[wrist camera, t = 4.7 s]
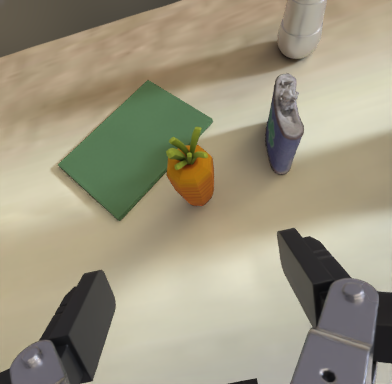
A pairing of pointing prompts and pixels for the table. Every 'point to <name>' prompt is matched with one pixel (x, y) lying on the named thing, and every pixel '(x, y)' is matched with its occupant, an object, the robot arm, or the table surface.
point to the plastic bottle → (301, 27)
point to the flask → (283, 125)
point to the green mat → (132, 147)
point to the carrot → (191, 170)
